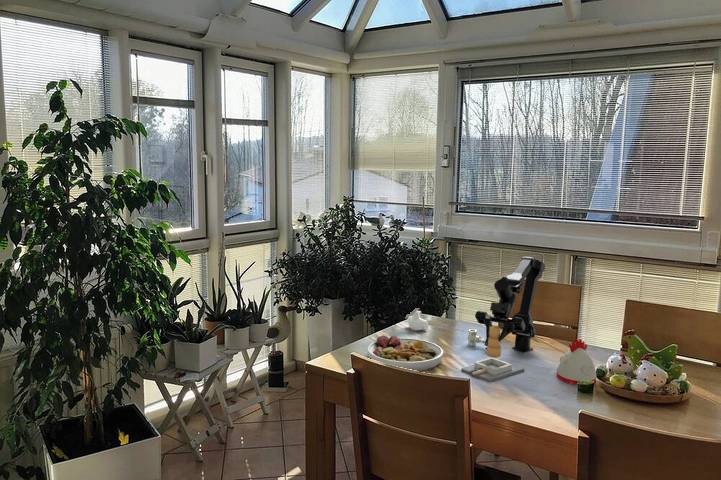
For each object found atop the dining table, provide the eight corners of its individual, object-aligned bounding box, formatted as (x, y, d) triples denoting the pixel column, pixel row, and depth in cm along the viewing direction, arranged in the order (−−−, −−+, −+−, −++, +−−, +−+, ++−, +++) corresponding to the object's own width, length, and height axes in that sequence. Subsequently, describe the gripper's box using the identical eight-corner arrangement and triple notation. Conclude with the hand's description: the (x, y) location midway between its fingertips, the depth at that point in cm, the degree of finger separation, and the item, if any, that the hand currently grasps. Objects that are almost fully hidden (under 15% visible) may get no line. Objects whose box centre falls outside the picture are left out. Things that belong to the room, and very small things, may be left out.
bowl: (457, 361, 241) (458, 342, 240) (411, 381, 219) (412, 360, 218) (399, 344, 261) (399, 327, 260) (351, 361, 239) (352, 342, 238)
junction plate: (495, 360, 242) (496, 353, 242) (524, 370, 231) (524, 363, 231) (458, 371, 229) (458, 364, 229) (487, 383, 218) (487, 375, 218)
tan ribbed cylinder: (496, 352, 233) (497, 325, 231) (503, 357, 228) (504, 329, 226) (484, 353, 231) (485, 326, 230) (491, 358, 226) (492, 330, 225)
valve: (463, 345, 261) (485, 352, 252) (464, 330, 260) (486, 337, 251) (473, 342, 265) (495, 349, 256) (473, 328, 264) (496, 334, 256)
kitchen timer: (548, 374, 228) (551, 336, 226) (577, 369, 233) (579, 332, 231) (575, 387, 215) (578, 347, 213) (604, 382, 221) (607, 343, 219)
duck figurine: (406, 331, 287) (397, 315, 281) (415, 319, 291) (406, 304, 285) (426, 337, 279) (417, 321, 273) (434, 325, 282) (425, 309, 276)
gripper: (477, 290, 235) (464, 324, 227) (524, 297, 224) (512, 333, 217) (485, 306, 242) (472, 339, 235) (530, 313, 232) (518, 348, 224)
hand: (493, 339), depth 228 cm, fingers closed on tan ribbed cylinder, 5 cm apart
